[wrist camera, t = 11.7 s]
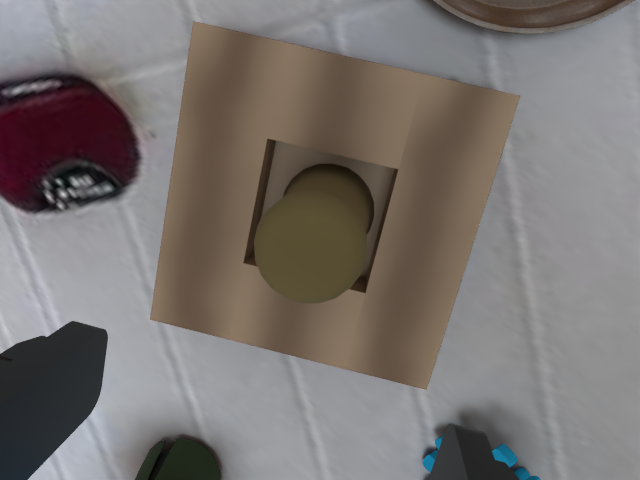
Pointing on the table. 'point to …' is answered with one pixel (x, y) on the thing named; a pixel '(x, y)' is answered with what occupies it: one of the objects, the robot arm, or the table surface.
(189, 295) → the socket block
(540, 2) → the plant saucer
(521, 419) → the table surface
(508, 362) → the table surface
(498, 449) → the gear
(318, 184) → the olive knobbed peg
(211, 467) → the character mug
